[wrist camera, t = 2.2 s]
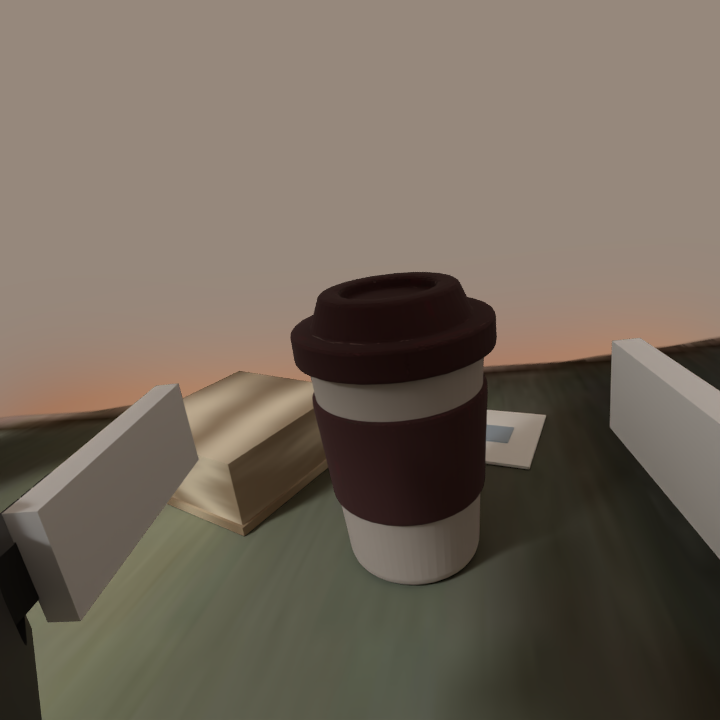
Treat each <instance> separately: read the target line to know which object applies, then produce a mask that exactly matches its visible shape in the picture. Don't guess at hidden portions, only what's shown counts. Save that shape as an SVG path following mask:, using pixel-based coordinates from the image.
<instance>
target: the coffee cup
mask: <svg viewBox="0 0 720 720" xmlns="http://www.w3.org/2000/svg"><path fill="white" fill-rule="evenodd" d="M496 337H497V336H496V315H495V311H494V310H493V308H492V307H491V306H490V305H488V304H486V303H485V302H482V301H480V300H477V299H473V298H469V297H467V296H466V294H465V292H464V290H463V288H462V286H461V284H460V282H459V281H458V280H457V279H456V278H454V277H452V276H450V275H446V274H441V273H430V272H408V273H394V274H386V275H379V276H371V277H366V278H361V279H356V280H352V281H348V282H344V283H341V284H338V285H335V286H333V287H330V288H328V289H326V290H325V291H323V292H322V293H321V294H320V295H319V296H318V298H317V303H316V307H315V311H314V315H312V316H310V317H308V318H306V319H304V320H302V321H301V322H300V323H299V324H298V325H296V326H295V328H294V329H293V330H292V332H291V343H292V349H293V354H294V360H295V363H296V366H297V367H298V368H299V369H300V370H301V371H302V372H304V373H305V374H307V375H309V376H311V380H312V384H313V389H314V393H313V396H312V401H313V408H314V412H315V416H316V420H317V424H318V428H319V432H320V436H321V440H322V444H323V448H324V452H325V456H326V460H327V464H328V468H329V472H330V476H331V480H332V484H333V488H334V492H335V495H336V497H337V499H338V501H339V502H340V503H341V505H342V508H343V512H344V517H345V521H346V525H347V529H348V533H349V537H350V541H351V545H352V549H353V552H354V554H355V556H356V558H357V559H358V561H359V562H360V564H361V565H362V566H363V567H364V568H365V569H366V570H368V571H369V572H370V573H372V574H374V575H375V576H377V577H379V578H381V579H384V580H386V581H389V582H393V583H399V584H408V585H419V584H428V583H433V582H437V581H440V580H442V579H445V578H448V577H450V576H452V575H453V574H455V573H457V572H458V571H460V570H461V569H462V568H464V567H465V566H466V565H467V564H468V563H469V561H470V560H471V559H472V557H473V556H474V554H475V552H476V550H477V546H478V543H479V532H480V492H481V491H482V488H483V486H484V480H485V460H486V427H487V394H488V390H487V379H486V377H485V375H484V374H483V361H484V357H485V356H486V355H488V354H489V353H490V352H491V351H492V350H493V348H494V346H495V344H496Z"/></svg>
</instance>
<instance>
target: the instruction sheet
mask: <svg viewBox="0 0 720 720" xmlns="http://www.w3.org/2000/svg"><path fill="white" fill-rule="evenodd" d="M545 419H546V415H540V414H529V413H517V412H506V411H495V410H487V427H486V460H485V463H486V464H493V465H500V466H507V467H515V468H522V469H530V466H531V463H532V460H533V457H534V454H535V450H536V447H537V444H538V441H539V438H540V435H541V432H542V429H543V426H544V422H545Z"/></svg>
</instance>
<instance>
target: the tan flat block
mask: <svg viewBox="0 0 720 720" xmlns="http://www.w3.org/2000/svg"><path fill="white" fill-rule="evenodd" d="M313 393H314V389H313V384H312V382H307V381H300V380H294V379H288V378H282V377H275V376H268V375H261V374H255V373H249V372H242V371H239V372H237V373H234V374H232V375H230V376H228V377H226V378H224V379H222V380H220V381H218V382H216V383H214V384H212V385H209V386H207V387H205V388H203V389H201V390H199V391H197V392H195V393H193V394H191V395H189V396H187V397H185V398H183V402H184V406H185V410H186V413H187V417H188V421H189V425H190V428H191V432H192V436H193V440H194V443H195V447H196V451H197V455H198V458H199V460H198V461H197V463H196V464H195V466H194V467H193V468H192V470H191V471H190V472H189V474H188V475H187V476H186V478H185V479H184V481H183V482H182V483H181V485H180V486H179V487H178V489H177V490H176V492H175V493H174V494H173V496H172V497H171V498H170V500H169V501H168V502H167V504H169V505H171V506H174V507H176V508H178V509H181V510H183V511H186V512H188V513H190V514H193V515H195V516H197V517H200V518H202V519H205V520H207V521H209V522H212V523H214V524H217V525H219V526H221V527H224V528H226V529H228V530H231V531H233V532H236V533H238V534H240V535H243V536H245V535H246V534H248V533H249V532H250V531H251V530H253V529H254V528H255V527H256V526H257V525H259V524H260V523H261V522H262V521H264V520H265V519H266V518H267V517H268V516H270V515H271V514H272V513H273V512H274V511H276V510H277V509H278V508H279V507H281V506H282V505H283V504H284V503H285V502H287V501H288V500H289V499H290V498H292V497H293V496H294V495H295V494H296V493H298V492H299V491H300V490H301V489H303V488H304V487H305V486H306V485H307V484H309V483H310V482H311V481H312V480H314V479H315V478H316V477H317V476H318V475H320V474H321V473H322V472H323V471H324V470H326V469H327V468H328V464H327V460H326V456H325V452H324V448H323V444H322V440H321V436H320V432H319V428H318V424H317V420H316V416H315V412H314V408H313V401H312V396H313Z"/></svg>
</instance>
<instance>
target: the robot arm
mask: <svg viewBox="0 0 720 720" xmlns="http://www.w3.org/2000/svg"><path fill="white" fill-rule="evenodd" d="M610 428H611V429H612V430H613V432H614V433H615V434H616V435H617V436H618V438H619V439H620V440H621V441H622V442H623V444H624V445H625V446H626V447H627V448H628V450H629V451H630V452H631V453H632V454H633V456H634V457H635V458H636V459H637V460H638V462H639V463H640V464H641V465H642V466H643V468H644V469H645V470H646V471H647V472H648V474H649V475H650V476H651V477H652V478H653V480H654V481H655V482H656V483H657V484H658V486H659V487H660V488H661V489H662V490H663V492H664V493H665V494H666V495H667V496H668V498H669V499H670V500H671V501H672V502H673V504H674V505H675V506H676V507H677V508H678V510H679V511H680V512H681V513H682V514H683V516H684V517H685V518H686V519H687V520H688V522H689V523H690V524H691V525H692V526H693V528H694V529H695V530H696V531H697V532H698V534H699V535H700V536H701V537H702V538H703V540H704V541H705V542H706V543H707V544H708V546H709V547H710V548H711V549H712V550H713V552H714V553H715V554H716V555H717V556H718V558H719V559H720V391H719V390H717V389H716V388H714V387H713V386H711V385H710V384H708V383H707V382H705V381H704V380H702V379H701V378H699V377H698V376H696V375H695V374H693V373H692V372H690V371H689V370H687V369H686V368H684V367H683V366H681V365H680V364H678V363H677V362H675V361H674V360H672V359H671V358H669V357H668V356H666V355H665V354H663V353H662V352H661V351H659V350H658V349H656V348H655V347H653V346H652V345H650V344H649V343H647V342H646V341H644V340H643V339H641V338H635V339H625V340H615V341H612V362H611V399H610ZM198 460H199V458H198V455H197V451H196V447H195V443H194V440H193V436H192V432H191V428H190V425H189V421H188V417H187V413H186V410H185V406H184V402H183V398H182V395H181V391H180V387H179V384H168V385H158V386H155V387H154V388H152V389H151V390H150V391H149V392H148V393H146V394H145V395H144V396H143V397H142V398H140V399H139V400H138V401H137V402H136V403H134V404H133V405H132V406H131V407H130V408H128V409H127V410H126V411H125V412H124V413H122V414H121V415H120V416H119V417H118V418H116V419H115V420H114V421H113V422H112V423H110V424H109V425H108V426H107V427H106V428H104V429H103V430H102V431H101V432H99V433H98V434H97V435H96V436H95V437H93V438H92V439H91V440H90V441H89V442H87V443H86V444H85V445H84V446H83V447H81V448H80V449H79V450H78V451H77V452H75V453H74V454H73V455H72V456H71V457H69V458H68V459H67V460H66V461H65V462H63V463H62V464H61V465H60V466H59V467H57V468H56V469H55V470H54V471H53V472H51V473H49V474H47V475H46V476H45V477H44V478H42V479H41V480H40V481H39V482H38V483H36V484H35V485H34V486H33V488H32V489H29V490H28V491H27V492H26V493H24V494H23V495H22V496H21V498H20V499H17V500H16V501H15V502H13V503H12V504H11V505H10V506H9V507H7V508H6V509H5V510H4V511H3V512H1V513H0V720H42V718H41V709H40V700H39V691H38V681H37V672H36V663H35V654H34V645H33V636H32V628H31V626H30V623H29V621H28V619H27V617H26V614H27V612H28V611H29V610H30V609H31V608H32V607H33V606H34V604H35V603H36V602H37V601H39V603H40V605H41V608H42V610H43V612H44V615H45V617H46V620H47V622H69V621H81V620H82V619H83V617H84V616H85V615H86V613H87V612H88V610H89V609H90V608H91V606H92V605H93V604H94V602H95V601H96V600H97V598H98V597H99V595H100V594H101V593H102V591H103V590H104V589H105V587H106V586H107V584H108V583H109V582H110V580H111V579H112V578H113V576H114V575H115V574H116V572H117V571H118V569H119V568H120V567H121V565H122V564H123V563H124V561H125V560H126V558H127V557H128V556H129V554H130V553H131V552H132V550H133V549H134V548H135V546H136V545H137V543H138V542H139V541H140V539H141V538H142V537H143V535H144V534H145V533H146V531H147V530H148V528H149V527H150V526H151V524H152V523H153V522H154V520H155V519H156V517H157V516H158V515H159V513H160V512H161V511H162V509H163V508H164V507H165V505H166V504H167V502H168V501H169V500H170V498H171V497H172V496H173V494H174V493H175V492H176V490H177V489H178V487H179V486H180V485H181V483H182V482H183V481H184V479H185V478H186V476H187V475H188V474H189V472H190V471H191V470H192V468H193V467H194V466H195V464H196V463H197V461H198Z"/></svg>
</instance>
